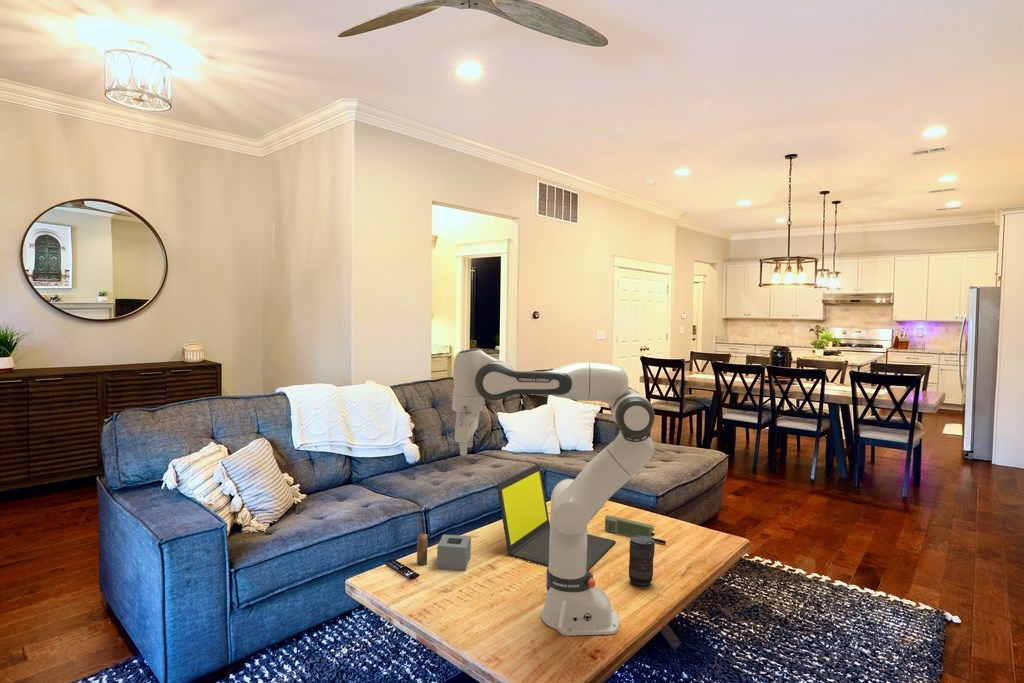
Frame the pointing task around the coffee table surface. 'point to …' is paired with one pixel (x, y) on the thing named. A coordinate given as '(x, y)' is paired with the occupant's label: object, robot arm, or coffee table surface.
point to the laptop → (535, 520)
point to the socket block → (453, 552)
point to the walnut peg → (422, 549)
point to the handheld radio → (629, 528)
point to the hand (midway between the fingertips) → (466, 450)
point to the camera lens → (641, 561)
